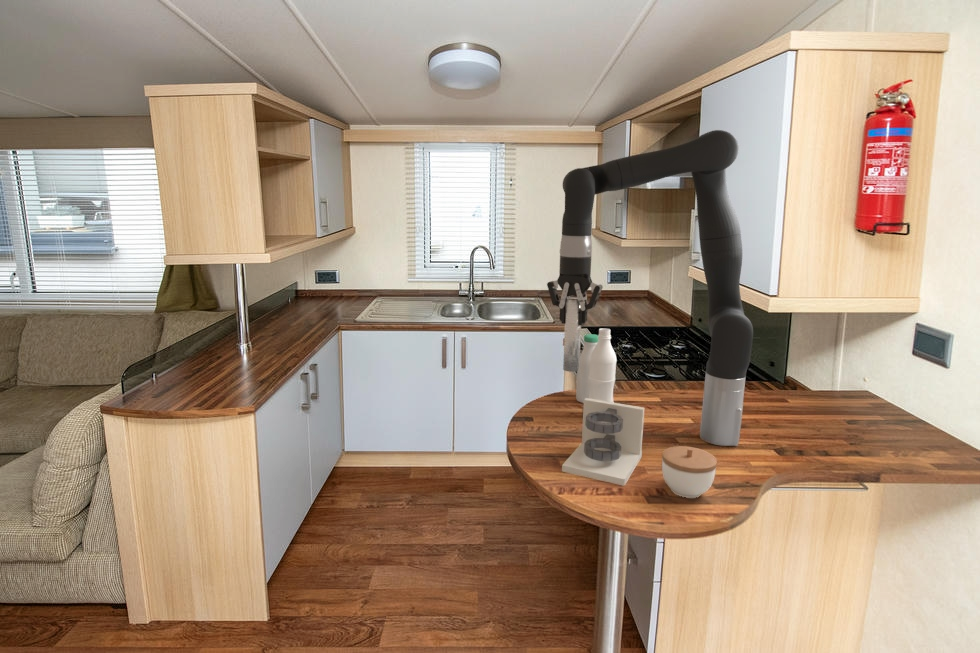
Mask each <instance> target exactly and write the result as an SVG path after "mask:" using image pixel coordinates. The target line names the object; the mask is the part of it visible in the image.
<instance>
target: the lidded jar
mask: <svg viewBox="0 0 980 653" xmlns="http://www.w3.org/2000/svg"><path fill="white" fill-rule="evenodd" d="M661 459H662V461H661V464H662V465H661V471H662V476H663V479H664V482H665V484H666V485H667V486H668V487H669V489H670V490H671V492H672V491H673V492H674V493H675V495H676V496H678V495H679V496H678V497H681V496H682V497H681V498H684V497H686V498H685V499H696V497H697V498H700V497H701V496H702V495H703V494H704V493H706V492H707V491H709V490H710V488H711V486H712V485H713V483H714V480H715V477H716V470H717V469H716V468H717V465H718V459H717V458H716V457H715V456H714V454H712V453H710V452H708V451H706V450H704V449H702V448H697V447H692V446H685V445H683V446H682V445H681V446H679V445H676V446H670V447H667V448H665V449H664V450H663V451H662V454H661ZM673 492H672V493H673ZM674 493H673V494H674ZM701 494H702V495H701ZM700 495H701V496H700ZM699 496H700V497H699Z"/></svg>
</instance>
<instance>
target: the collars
mask: <svg viewBox="0 0 980 653" xmlns="http://www.w3.org/2000/svg"><path fill="white" fill-rule="evenodd" d="M601 421H604V422H610V423H600V422H601ZM585 425H586V427H587V429H589V430H591V431H593V432H597V433H604V434H606V436H605V437H604V438H593V439H589V440H587V441H586V442H585V443H584V453H585V455H586V456H587V457H589V458H591V459H593V460H598V461H614V460H617V459H619V458H620V456H621V445H620V444H619V443H618V442H616V441H615V435H609V434H614V433H617V432H620V431H621V430H622V429H623V419H622V417H621V416H619V415H617V409H611V408H608V409H607V410H606V411H605V412H592V413H589V414H588V415H587V416H586V420H585ZM594 448H606V449H610V450H611V451H600V450H595V449H594Z"/></svg>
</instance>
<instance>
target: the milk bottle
mask: <svg viewBox="0 0 980 653" xmlns="http://www.w3.org/2000/svg"><path fill="white" fill-rule="evenodd" d="M598 336H599V334H594V333H593V334H592V333H591V334H589V333H588V334H584V336H583V343H584V345H583V348H582V351H581V352H580V362H579V371H576V372H577V373H576V390H575V391H576V392H575V398H576V401H577V402H579V403H582V404H584V399H585V398H589V394H590V381H589V375H590V356H591V353H592V351H593V350H594V348H595V346H596V345H597V343H598V339H599V338H598Z"/></svg>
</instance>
